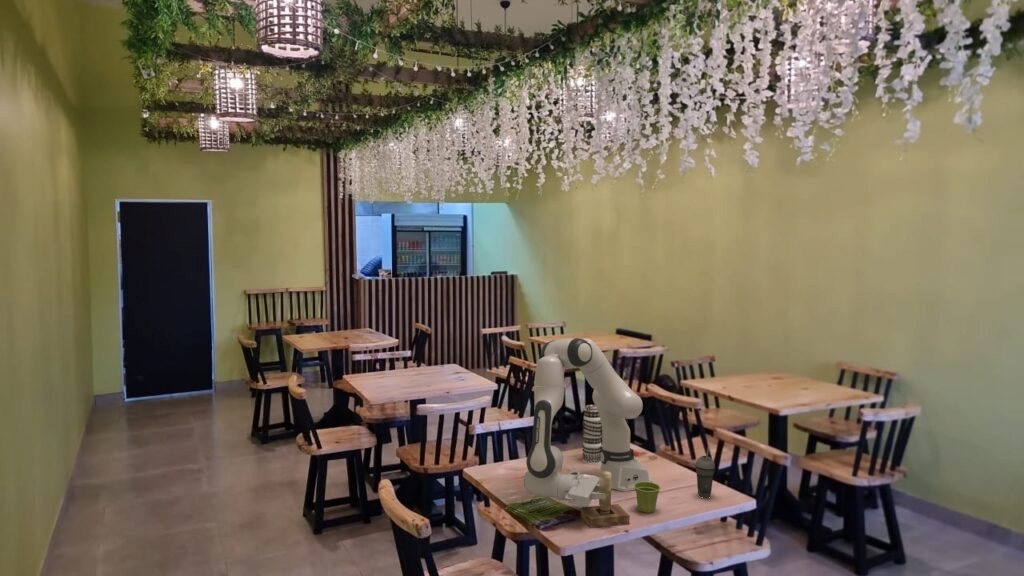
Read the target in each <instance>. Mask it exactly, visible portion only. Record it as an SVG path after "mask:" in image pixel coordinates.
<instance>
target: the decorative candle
mask: <svg viewBox="0 0 1024 576" xmlns="http://www.w3.org/2000/svg"><path fill="white" fill-rule="evenodd" d="M583 410H584V412H583V414H584V415H583V420H582V421H581V423H582V428H583V429H582V436H583V445H582V463H584V462H585V463H584V464H586V463H590V464H589V465H591V464H596V465H600V464H601V447H602V425H601V420H600V416H599V412H598V409H597V407H596V405H595V404H587V405H585V407H584V408H583ZM599 463H600V464H599Z"/></svg>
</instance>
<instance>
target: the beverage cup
mask: <svg viewBox="0 0 1024 576" xmlns="http://www.w3.org/2000/svg"><path fill="white" fill-rule="evenodd" d="M709 450H710V445H707V449H706V455H701V456H699V457H698V458H697V459H696V462H695V466H694V467H695V472H696V482H697V483H696V485H697V496H698V495H699V496H700V497H703V498H709V497H710V496H711V497H712V491H713V490H712V487H713V479H714V473H715V469H716V467H715V461H714V460H713V459H712V458H711V457H710V456H709ZM699 496H698V497H699ZM700 497H699V498H700ZM711 497H710V498H711ZM703 498H702V499H703ZM710 498H709V499H710Z"/></svg>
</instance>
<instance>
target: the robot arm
mask: <svg viewBox="0 0 1024 576" xmlns="http://www.w3.org/2000/svg"><path fill="white" fill-rule="evenodd" d="M569 368H570V369H571V368H578V369H580V372H581V373H582V374H583V377H584V378H585V380H586V381H587V382H588V384H589V386H590V387H591V388H592V389H593V392H592V396H591V397H592V401H593V404H594V405H596V407H597V409H598V412H599V416H600V420H601V426H602V432H601V434H602V437H601V446H602V447H601V463H600V464H601V465H600V471H599V476H598V475H597V476H596V475H591V474H587V473H580V472H578V471H573V472H571V473H566V474H564V473H561V472H562V469H563V468H562V467H563V464H564V456H563V452H562V451H561V449H560V448H558V447H557V446H555V445H551V438H552V436H551V435H552V424H553V420H554V417H555V415H556V414H557V412H558V411H559V410H560V409H561V408H562V407H563V403H564V400H565V371H566V369H569ZM533 393H534V394H533V395H534V396H533V397H534V398H533V399H534V402H533V403H534V407H533V409H534V414H533V424H532V426H533V427H532V438H531V439H532V440H531V447H530V450H529V451H528V453H527V457H526V461H525V462H526V468H527V471H526V472H525V473H524V479H523V483H524V488H525V491H526V492H527V493H528V494H530V495H533V496H536V497H539V498H544V499H550V498H553V499H556V500H559V501H567V502H568V503H569V504H571V505H576V506H579V507H580V506H581V507H589V505H590V504H591V502H592V500H594V501H595V500H599V499H606V495H607V494H606V493H604V492H601V493H599V482H600V472H602V471H608V472H611V490H617V491H620V492H629V491H635V488H634V484H635V483H638V482H652V483H655V481H654V480H653V478H651V476H649V471H648V469H647V468H648V467H646V465H644V464H643V463H642V462H641V461H639V460H638V459H637V457H639V455H640V454H639V452H638V451H637V450H634V449H633V448H631V429H630V426H629V425H628V424H627V421H626V419H628V420H632V419H636V418H637V417H638V416H639V415H641V414H642V411H643V407H644V405H643V400H642V398H641V397H640V396H639V395H638V394H637V393H636V392H635V391H633V390H632V389H631V387H630V386H628V384H627V383H626V382H625V381H624V380H623V379H622V378H621V376H620V375H619V374H618V373H617V372H616V371H615V370H614V368H613V366H612V364H611V363H610V362H609V360H608V358H607V357H606V356H605V354H604V353H603V351H602V350H601V348H600V347H599V346H598V345H597V344H596V343H595V342H594V341H593V340H592V339H590V338H588V337H587V338H586V337H584V338H580V337H575V338H562V339H557V340H556V339H554V340H549V341H547V342H546V343H544V345H543V346H542V347H541V351H540V358H539V359H538V360H537V363H536V367H535V374H534V392H533ZM635 457H636V458H635Z"/></svg>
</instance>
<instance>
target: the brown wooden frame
mask: <svg viewBox="0 0 1024 576" xmlns="http://www.w3.org/2000/svg"><path fill="white" fill-rule="evenodd" d="M580 516H581V518H582V519H583V520H584V522H585V523H586V524H587V525H588V526H589V528H591V529H593V528H600V527H602V528H603V527H612V526H624V525H630V520H631V519H630V514H629V513H628V512H627V511H626V509H624V508H623V507H622V506H621V505H620V504H615V503H614V504H611V505H610V511H609V514H608V515H600V505H593V506H592V505H591V506H581V507H580Z"/></svg>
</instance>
